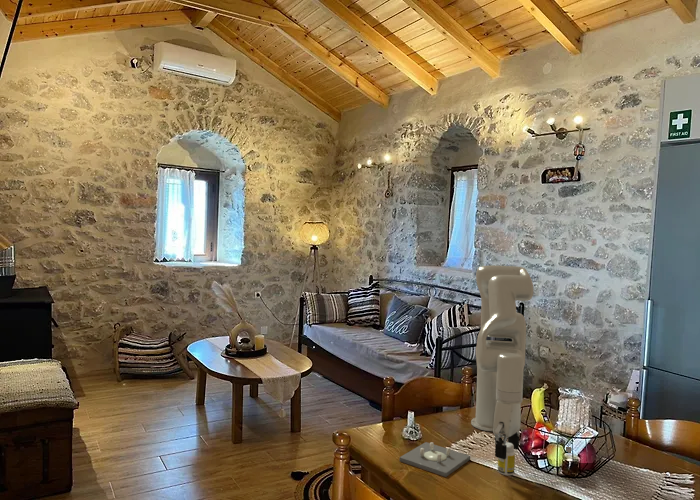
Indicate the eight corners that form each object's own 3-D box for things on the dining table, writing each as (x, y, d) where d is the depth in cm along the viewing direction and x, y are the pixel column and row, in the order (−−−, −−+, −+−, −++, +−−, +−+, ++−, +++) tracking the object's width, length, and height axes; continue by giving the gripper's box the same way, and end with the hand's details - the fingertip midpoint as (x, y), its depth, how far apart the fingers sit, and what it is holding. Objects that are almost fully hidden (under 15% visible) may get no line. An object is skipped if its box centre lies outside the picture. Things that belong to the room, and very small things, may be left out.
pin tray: (425, 445, 177) (426, 434, 177) (470, 459, 167) (470, 447, 167) (399, 461, 165) (399, 449, 164) (445, 477, 155) (446, 464, 155)
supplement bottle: (514, 470, 160) (515, 442, 160) (514, 477, 156) (515, 448, 156) (498, 467, 162) (499, 440, 162) (497, 474, 158) (498, 446, 157)
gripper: (508, 387, 167) (506, 441, 167) (484, 399, 154) (482, 458, 154) (531, 392, 163) (529, 448, 163) (510, 404, 149) (508, 465, 149)
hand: (507, 452), depth 158 cm, fingers open, 9 cm apart
